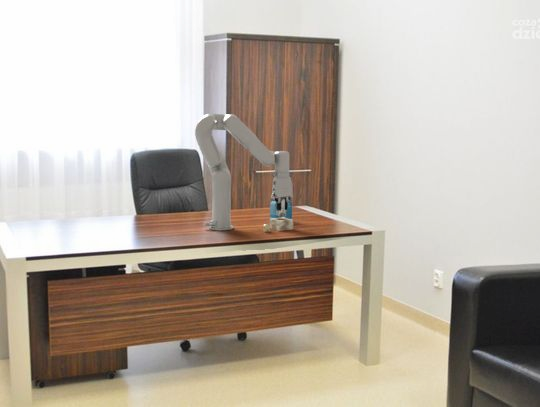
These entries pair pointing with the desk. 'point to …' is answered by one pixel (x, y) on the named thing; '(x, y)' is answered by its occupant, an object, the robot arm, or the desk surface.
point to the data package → (275, 213)
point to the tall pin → (282, 206)
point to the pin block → (281, 224)
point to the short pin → (266, 228)
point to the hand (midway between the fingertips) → (282, 209)
